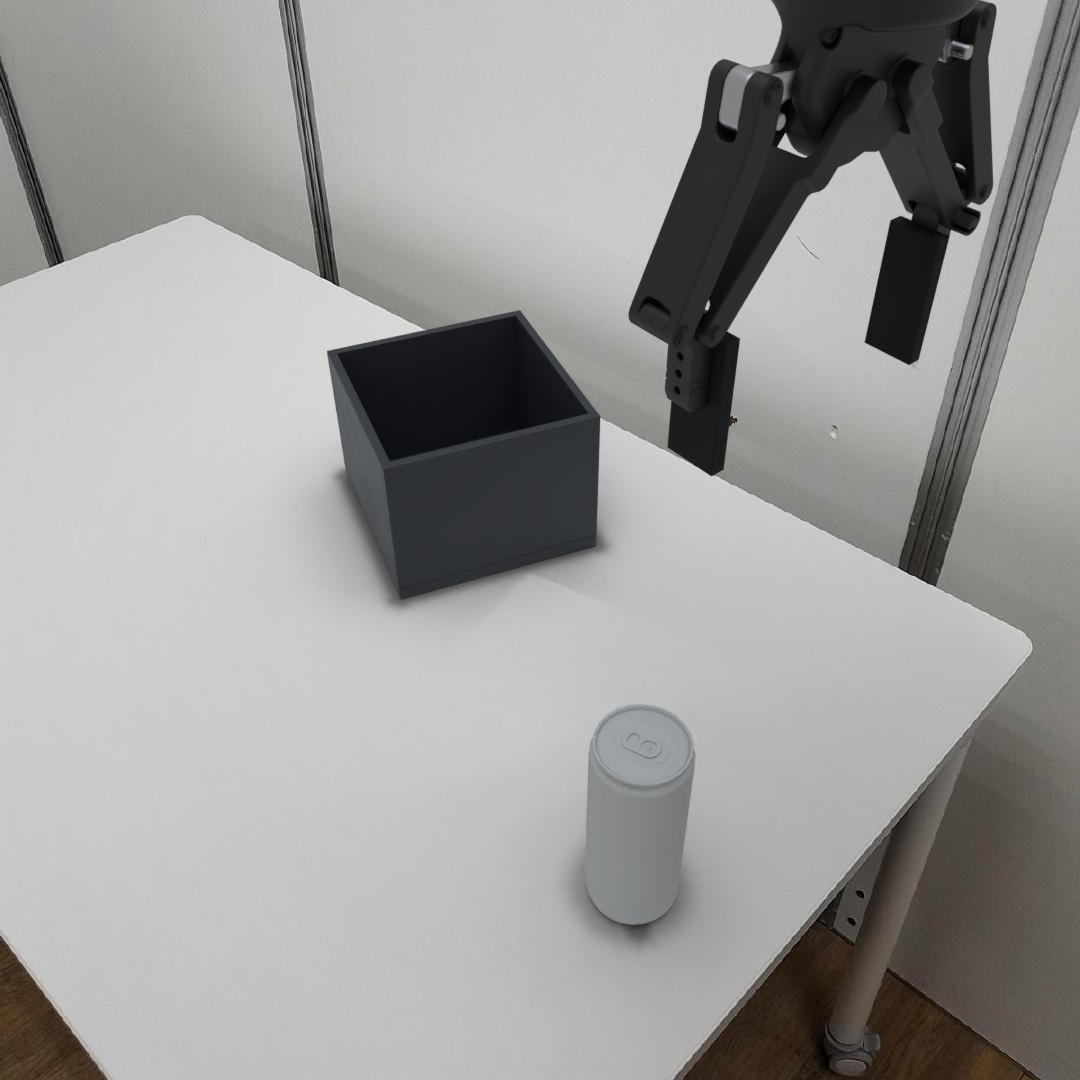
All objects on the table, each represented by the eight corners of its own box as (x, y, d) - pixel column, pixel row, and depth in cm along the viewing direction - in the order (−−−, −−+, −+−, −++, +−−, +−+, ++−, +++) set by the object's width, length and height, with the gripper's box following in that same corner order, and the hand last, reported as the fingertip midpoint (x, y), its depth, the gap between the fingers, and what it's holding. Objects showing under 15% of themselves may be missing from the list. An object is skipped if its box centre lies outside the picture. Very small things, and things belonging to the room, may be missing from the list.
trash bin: (596, 545, 78) (600, 416, 70) (400, 600, 74) (383, 469, 66) (523, 433, 88) (520, 309, 80) (346, 476, 84) (326, 350, 76)
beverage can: (650, 947, 55) (666, 805, 47) (566, 901, 57) (568, 757, 49) (693, 874, 58) (715, 729, 50) (612, 832, 60) (621, 686, 52)
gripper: (1006, -179, 46) (900, 286, 60) (533, -80, 34) (540, 468, 48) (1183, -153, 41) (1024, 342, 55) (709, -28, 30) (660, 559, 44)
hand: (799, 402), depth 52 cm, fingers open, 13 cm apart
